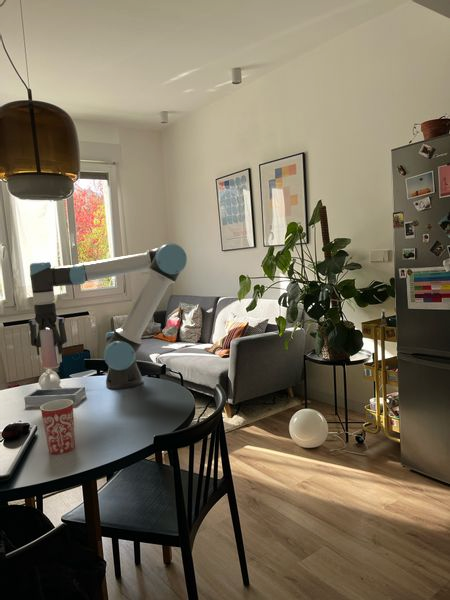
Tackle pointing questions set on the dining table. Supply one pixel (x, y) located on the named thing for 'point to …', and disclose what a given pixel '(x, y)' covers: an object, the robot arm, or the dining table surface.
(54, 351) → the beverage can
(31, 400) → the grey shallow rectangular tray
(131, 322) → the robot arm
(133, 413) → the dining table surface
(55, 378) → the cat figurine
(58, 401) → the mug
